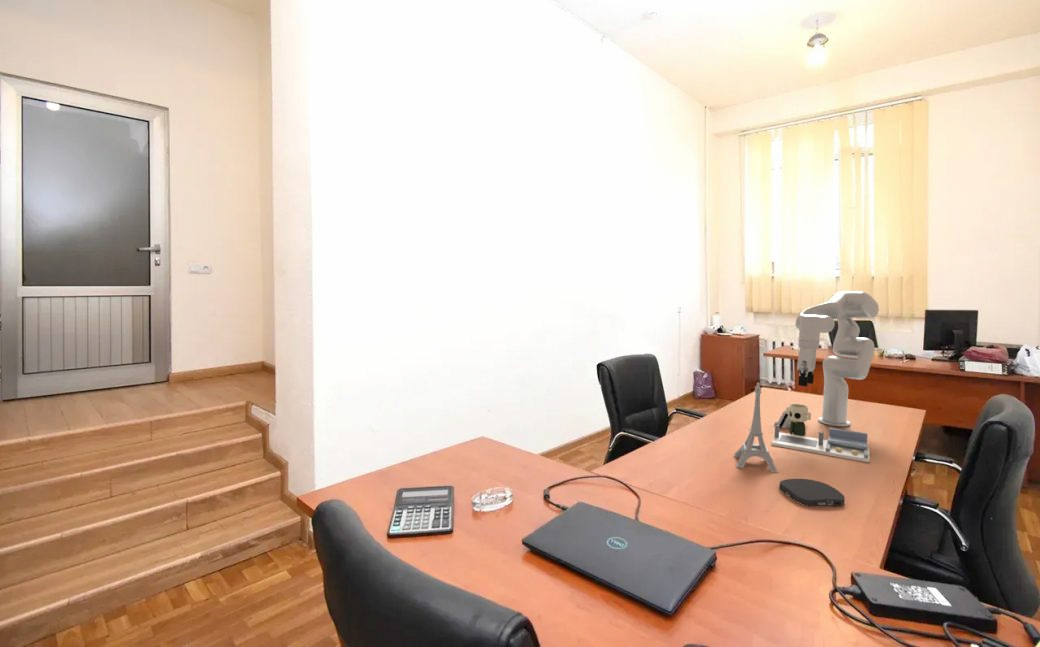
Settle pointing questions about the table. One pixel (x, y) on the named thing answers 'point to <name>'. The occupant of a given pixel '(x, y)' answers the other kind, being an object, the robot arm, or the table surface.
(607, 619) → the table surface
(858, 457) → the board
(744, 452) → the eiffel tower
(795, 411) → the character mug
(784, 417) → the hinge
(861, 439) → the cover
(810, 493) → the media streaming box
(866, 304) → the robot arm
